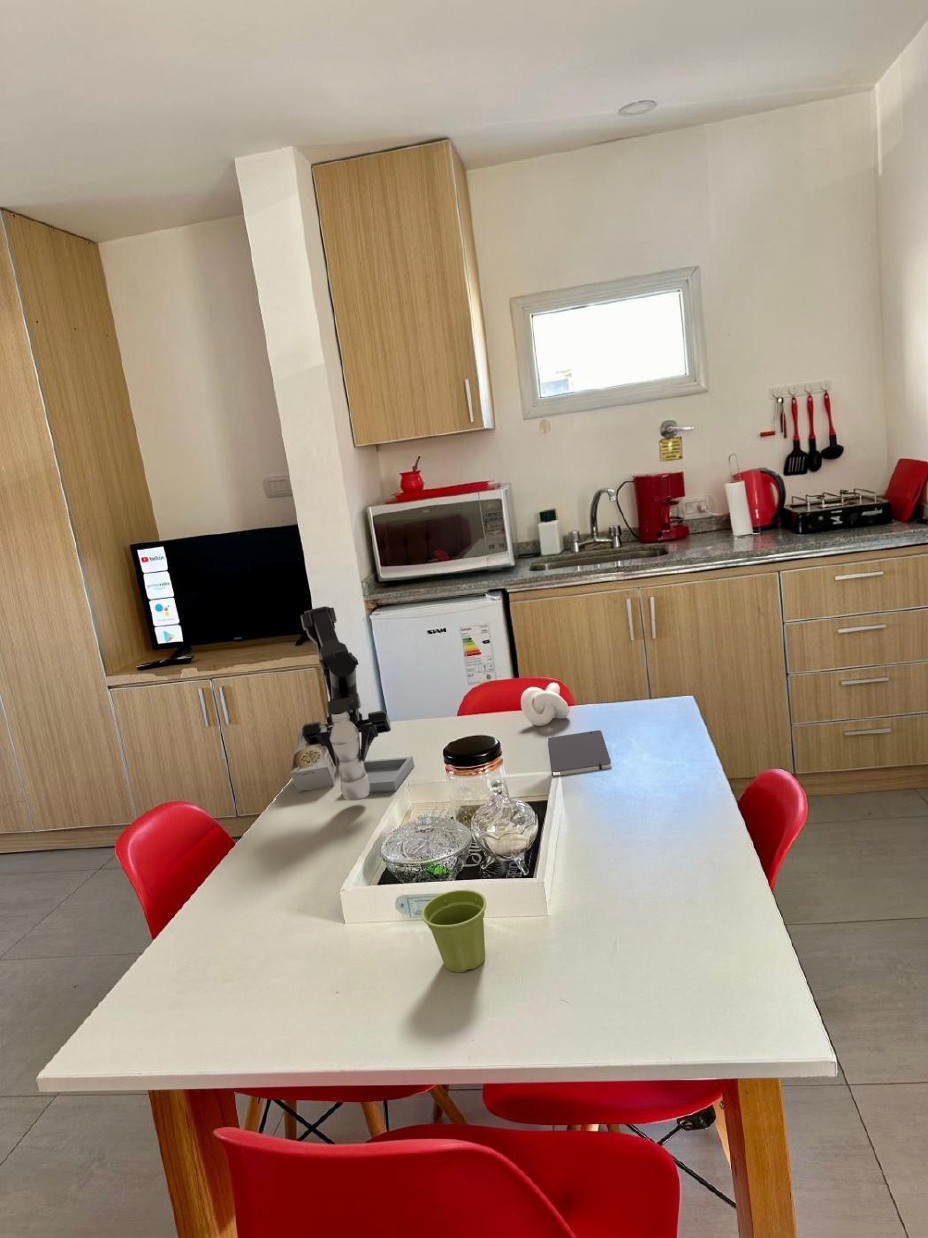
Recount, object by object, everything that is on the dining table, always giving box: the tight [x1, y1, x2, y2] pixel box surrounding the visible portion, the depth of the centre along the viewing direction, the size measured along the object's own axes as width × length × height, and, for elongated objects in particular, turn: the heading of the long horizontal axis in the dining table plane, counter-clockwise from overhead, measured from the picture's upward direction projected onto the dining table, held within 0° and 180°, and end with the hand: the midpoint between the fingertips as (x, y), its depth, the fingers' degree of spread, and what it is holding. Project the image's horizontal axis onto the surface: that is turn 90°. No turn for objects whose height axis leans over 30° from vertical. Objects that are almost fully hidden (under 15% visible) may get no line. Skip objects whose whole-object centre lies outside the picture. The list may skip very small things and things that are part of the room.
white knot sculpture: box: [520, 682, 570, 727], centre depth 219 cm, size 11×12×9 cm
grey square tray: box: [363, 756, 415, 795], centre depth 200 cm, size 14×13×2 cm
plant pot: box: [421, 889, 487, 973], centre depth 124 cm, size 9×9×9 cm
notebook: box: [547, 729, 612, 776], centre depth 194 cm, size 13×2×21 cm
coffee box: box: [290, 723, 337, 792], centre depth 207 cm, size 9×6×16 cm
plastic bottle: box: [330, 711, 371, 801], centre depth 186 cm, size 6×7×20 cm
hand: (349, 763), depth 185 cm, fingers closed on plastic bottle, 6 cm apart
